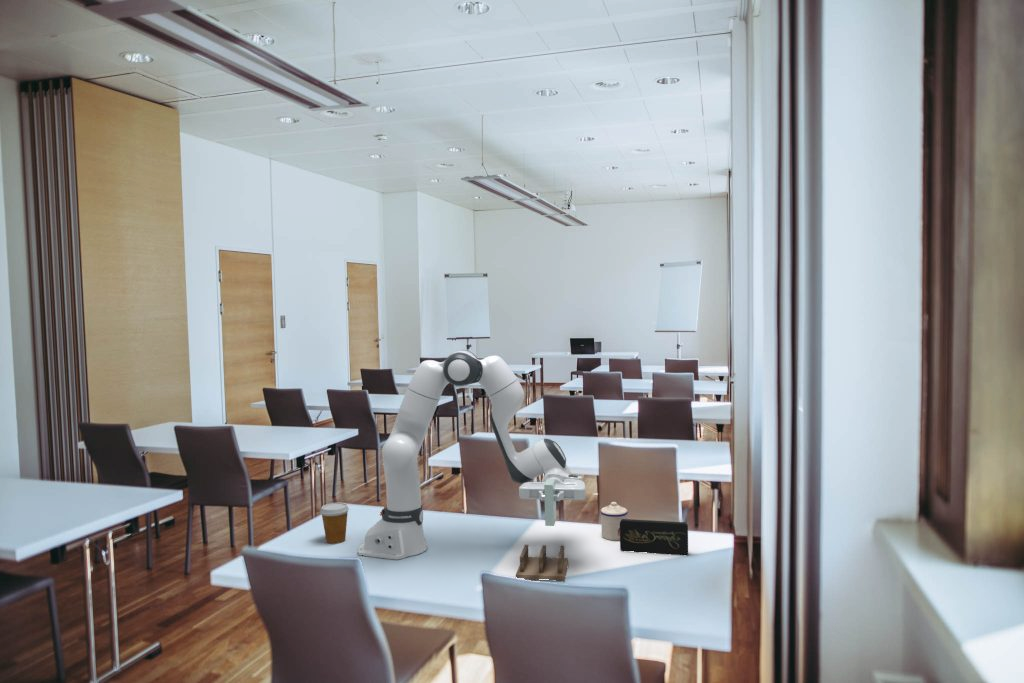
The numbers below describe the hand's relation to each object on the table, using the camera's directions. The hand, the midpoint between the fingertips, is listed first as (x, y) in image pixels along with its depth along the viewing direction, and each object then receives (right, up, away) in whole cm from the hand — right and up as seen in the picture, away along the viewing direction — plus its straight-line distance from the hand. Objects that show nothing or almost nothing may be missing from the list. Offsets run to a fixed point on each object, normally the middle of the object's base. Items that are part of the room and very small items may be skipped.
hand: (549, 498), depth 197 cm
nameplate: (+34, -21, +15) cm, 42 cm away
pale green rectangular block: (0, -7, +1) cm, 7 cm away
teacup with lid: (+24, -20, +32) cm, 45 cm away
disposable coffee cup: (-72, -23, +34) cm, 82 cm away
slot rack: (-2, -22, +2) cm, 22 cm away
